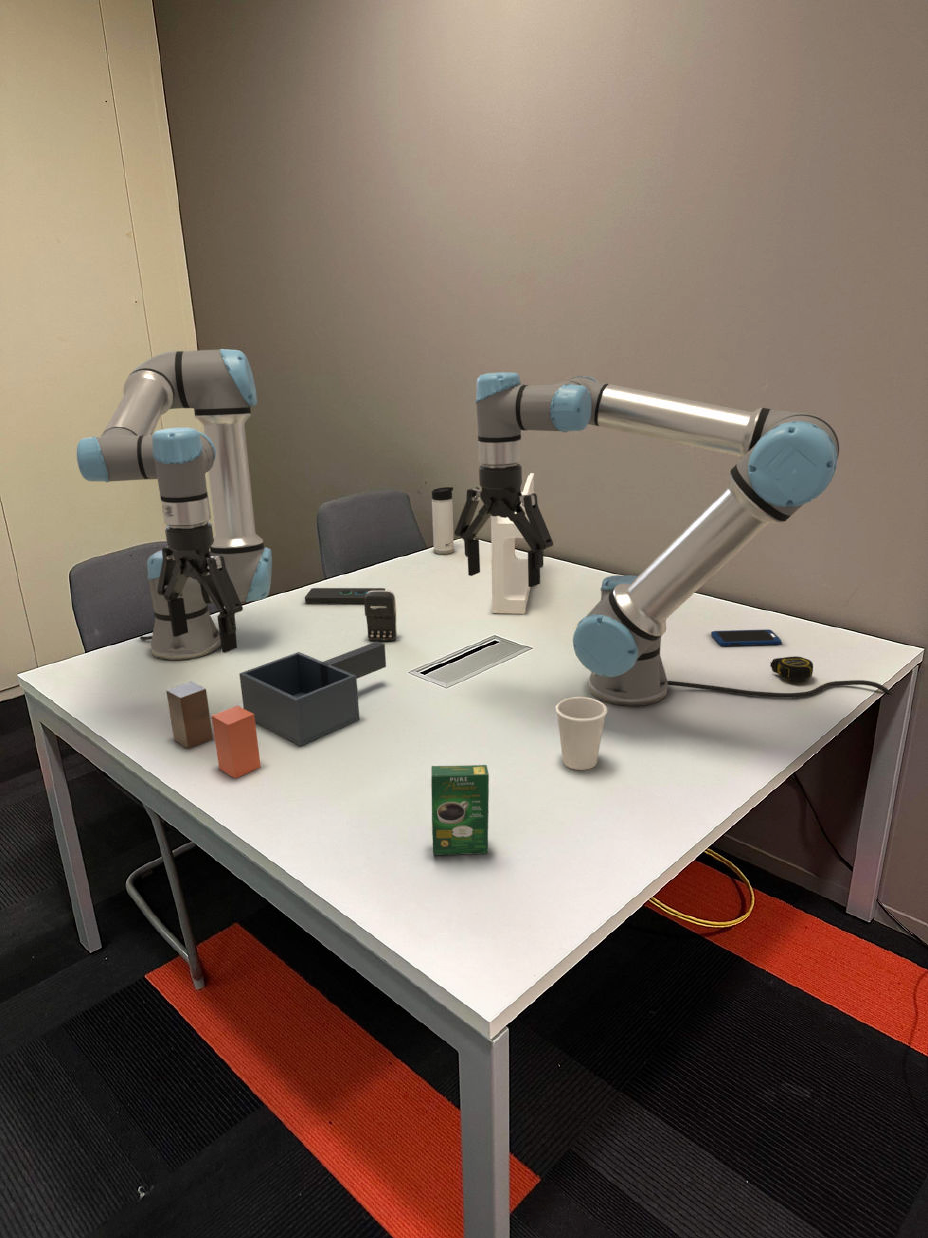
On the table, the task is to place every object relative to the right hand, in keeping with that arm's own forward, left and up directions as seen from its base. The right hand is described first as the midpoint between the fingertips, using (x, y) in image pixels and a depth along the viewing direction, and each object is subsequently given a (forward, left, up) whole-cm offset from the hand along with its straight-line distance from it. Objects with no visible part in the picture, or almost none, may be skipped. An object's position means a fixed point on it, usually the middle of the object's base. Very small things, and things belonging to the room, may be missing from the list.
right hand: (503, 579), depth 157 cm
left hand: (+54, -4, -7) cm, 55 cm away
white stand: (-24, -61, -25) cm, 70 cm away
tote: (+33, -9, -25) cm, 42 cm away
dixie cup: (-4, +27, -25) cm, 36 cm away
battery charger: (+16, -39, -25) cm, 49 cm away
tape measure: (-58, +9, -25) cm, 63 cm away
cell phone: (-61, -11, -25) cm, 67 cm away
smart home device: (+20, -70, -25) cm, 77 cm away
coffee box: (+22, +44, -25) cm, 55 cm away
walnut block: (+58, -3, -25) cm, 63 cm away
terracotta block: (+51, +10, -25) cm, 57 cm away
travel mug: (-16, -104, -25) cm, 108 cm away
